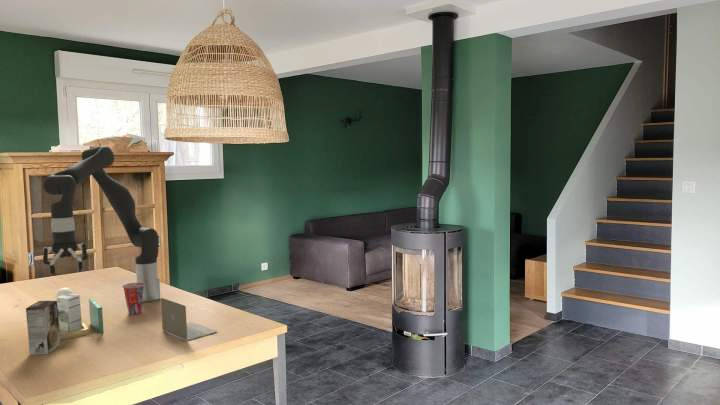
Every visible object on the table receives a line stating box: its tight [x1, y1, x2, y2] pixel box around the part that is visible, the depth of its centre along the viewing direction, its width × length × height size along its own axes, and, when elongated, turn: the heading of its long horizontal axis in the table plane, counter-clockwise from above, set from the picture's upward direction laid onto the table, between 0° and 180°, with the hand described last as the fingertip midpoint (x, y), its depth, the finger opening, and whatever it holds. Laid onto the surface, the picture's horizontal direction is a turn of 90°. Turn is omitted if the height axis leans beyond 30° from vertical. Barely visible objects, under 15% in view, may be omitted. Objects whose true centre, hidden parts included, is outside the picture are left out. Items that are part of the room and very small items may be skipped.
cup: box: [122, 282, 144, 316], centre depth 229 cm, size 9×8×12 cm
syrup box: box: [55, 293, 82, 333], centre depth 203 cm, size 6×6×14 cm
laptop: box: [160, 297, 218, 342], centre depth 202 cm, size 18×12×13 cm
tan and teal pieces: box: [60, 298, 104, 341], centre depth 205 cm, size 15×16×10 cm
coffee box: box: [25, 300, 61, 356], centre depth 186 cm, size 9×6×16 cm
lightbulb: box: [55, 287, 74, 297], centre depth 231 cm, size 6×6×11 cm
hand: (66, 273), depth 202 cm, fingers open, 8 cm apart
